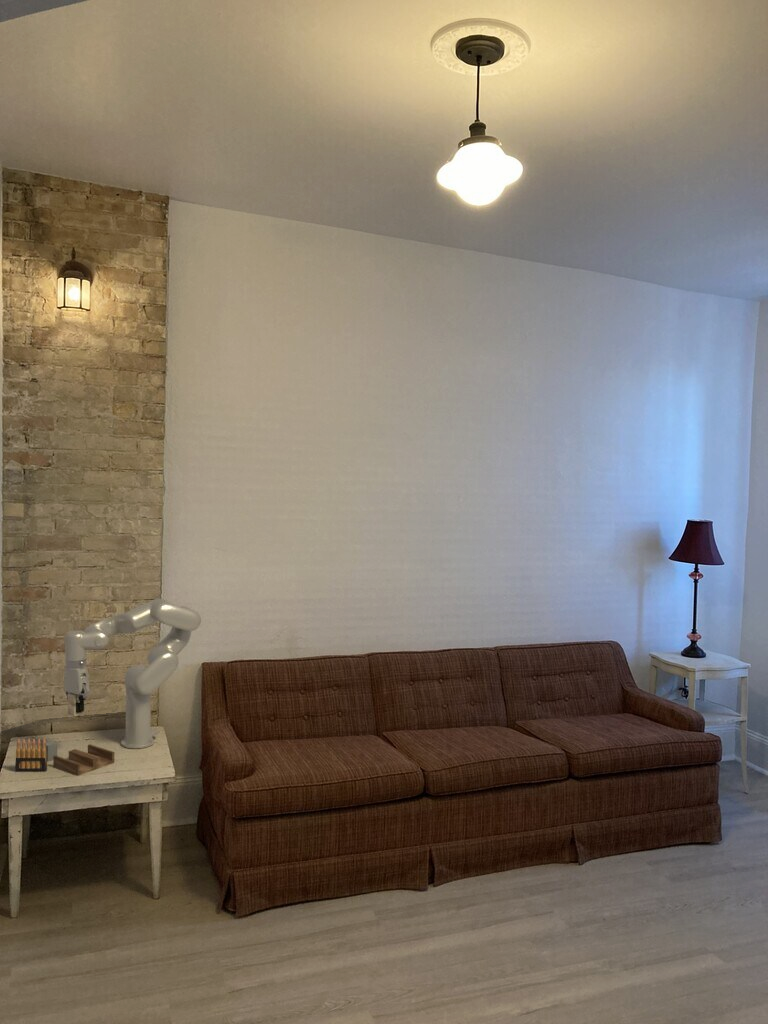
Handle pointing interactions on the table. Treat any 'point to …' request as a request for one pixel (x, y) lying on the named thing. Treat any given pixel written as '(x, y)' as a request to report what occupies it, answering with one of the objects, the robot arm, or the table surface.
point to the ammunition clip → (31, 757)
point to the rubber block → (50, 750)
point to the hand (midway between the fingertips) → (76, 710)
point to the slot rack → (84, 760)
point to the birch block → (72, 704)
